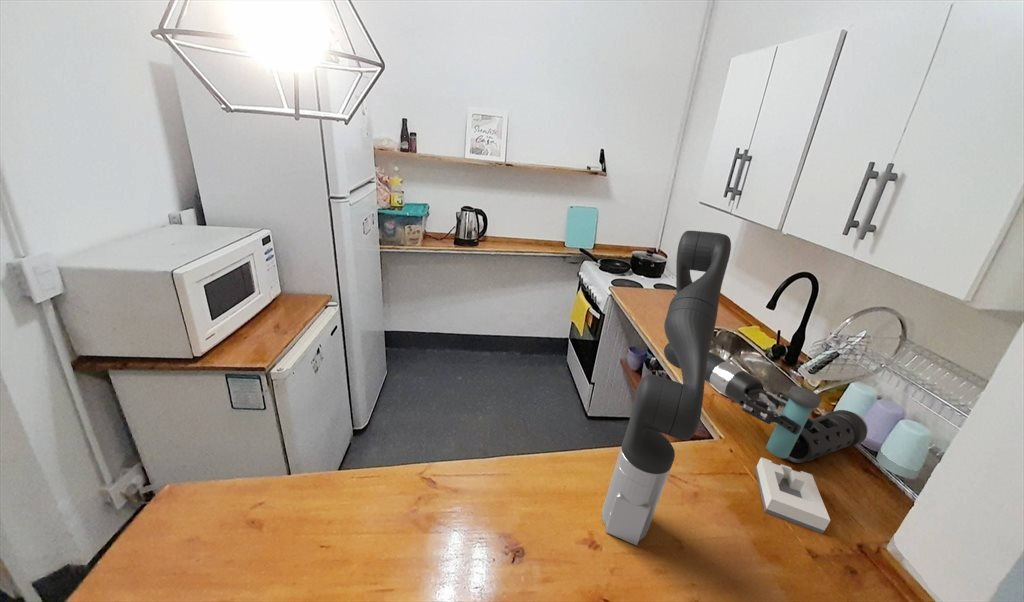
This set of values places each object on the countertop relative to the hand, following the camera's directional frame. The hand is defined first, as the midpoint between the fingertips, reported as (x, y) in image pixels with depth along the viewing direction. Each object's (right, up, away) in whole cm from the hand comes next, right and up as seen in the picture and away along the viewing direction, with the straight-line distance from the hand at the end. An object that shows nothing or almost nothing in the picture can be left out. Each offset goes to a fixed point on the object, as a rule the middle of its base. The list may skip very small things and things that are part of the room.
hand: (805, 428), depth 85 cm
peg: (-2, -7, +6) cm, 9 cm away
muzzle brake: (+21, -15, +26) cm, 37 cm away
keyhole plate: (+1, -19, +8) cm, 20 cm away
